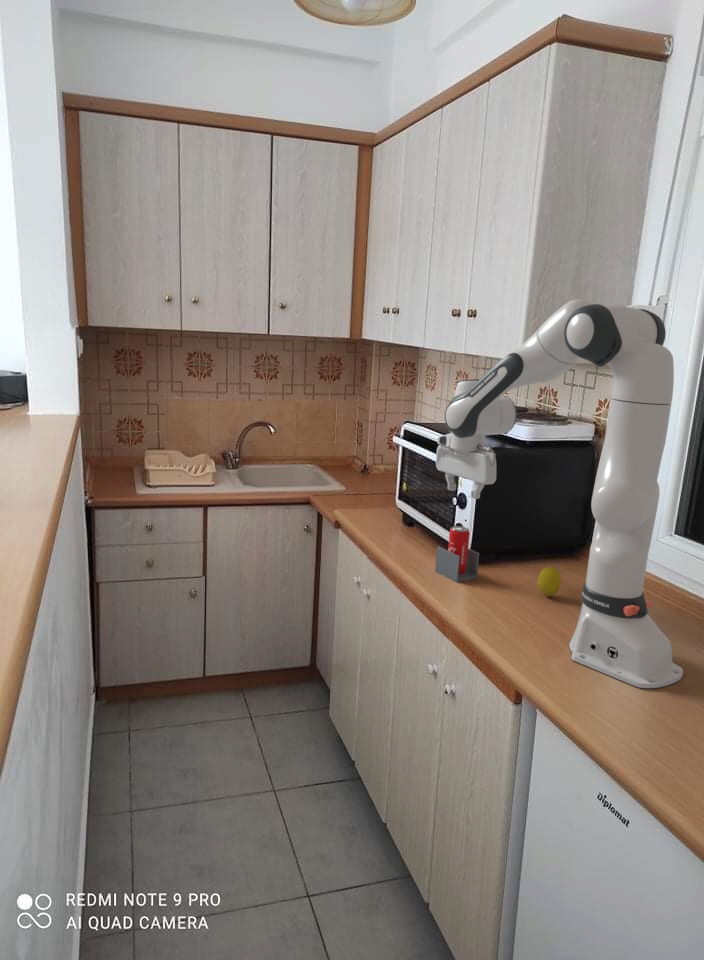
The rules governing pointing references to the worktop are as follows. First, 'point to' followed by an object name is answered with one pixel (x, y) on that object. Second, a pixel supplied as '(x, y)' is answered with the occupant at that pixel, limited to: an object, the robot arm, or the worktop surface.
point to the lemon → (549, 581)
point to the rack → (456, 565)
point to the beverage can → (459, 545)
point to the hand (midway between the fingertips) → (463, 494)
